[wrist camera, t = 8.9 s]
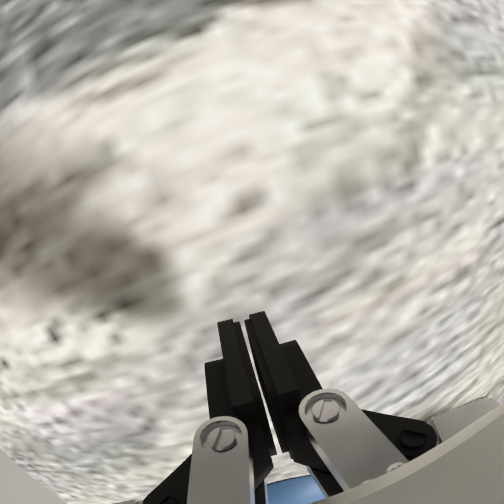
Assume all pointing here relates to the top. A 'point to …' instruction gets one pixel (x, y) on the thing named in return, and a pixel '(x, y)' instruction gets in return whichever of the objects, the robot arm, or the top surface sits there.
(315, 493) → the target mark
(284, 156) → the top surface
